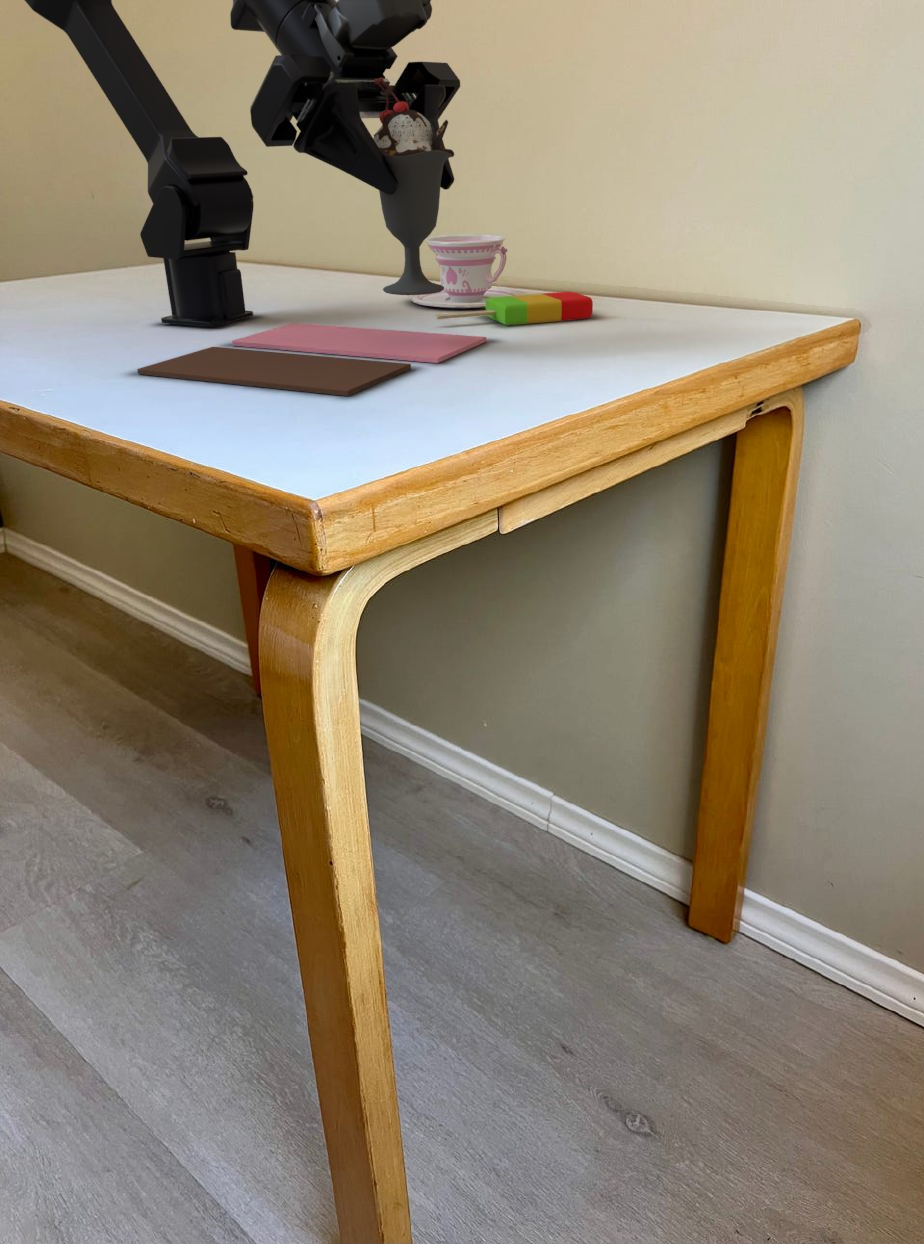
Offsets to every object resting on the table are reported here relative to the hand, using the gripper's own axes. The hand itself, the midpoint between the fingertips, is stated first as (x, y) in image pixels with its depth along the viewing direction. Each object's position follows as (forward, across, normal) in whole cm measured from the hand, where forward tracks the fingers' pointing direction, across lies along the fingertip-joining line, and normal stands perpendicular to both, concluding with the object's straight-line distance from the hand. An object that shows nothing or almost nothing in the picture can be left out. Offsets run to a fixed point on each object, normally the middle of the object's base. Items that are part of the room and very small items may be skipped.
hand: (423, 187), depth 74 cm
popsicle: (+7, +15, +10) cm, 20 cm away
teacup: (0, +22, +18) cm, 29 cm away
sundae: (+4, 0, +6) cm, 8 cm away
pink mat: (+4, -1, +14) cm, 14 cm away
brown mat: (+5, -12, +12) cm, 18 cm away
